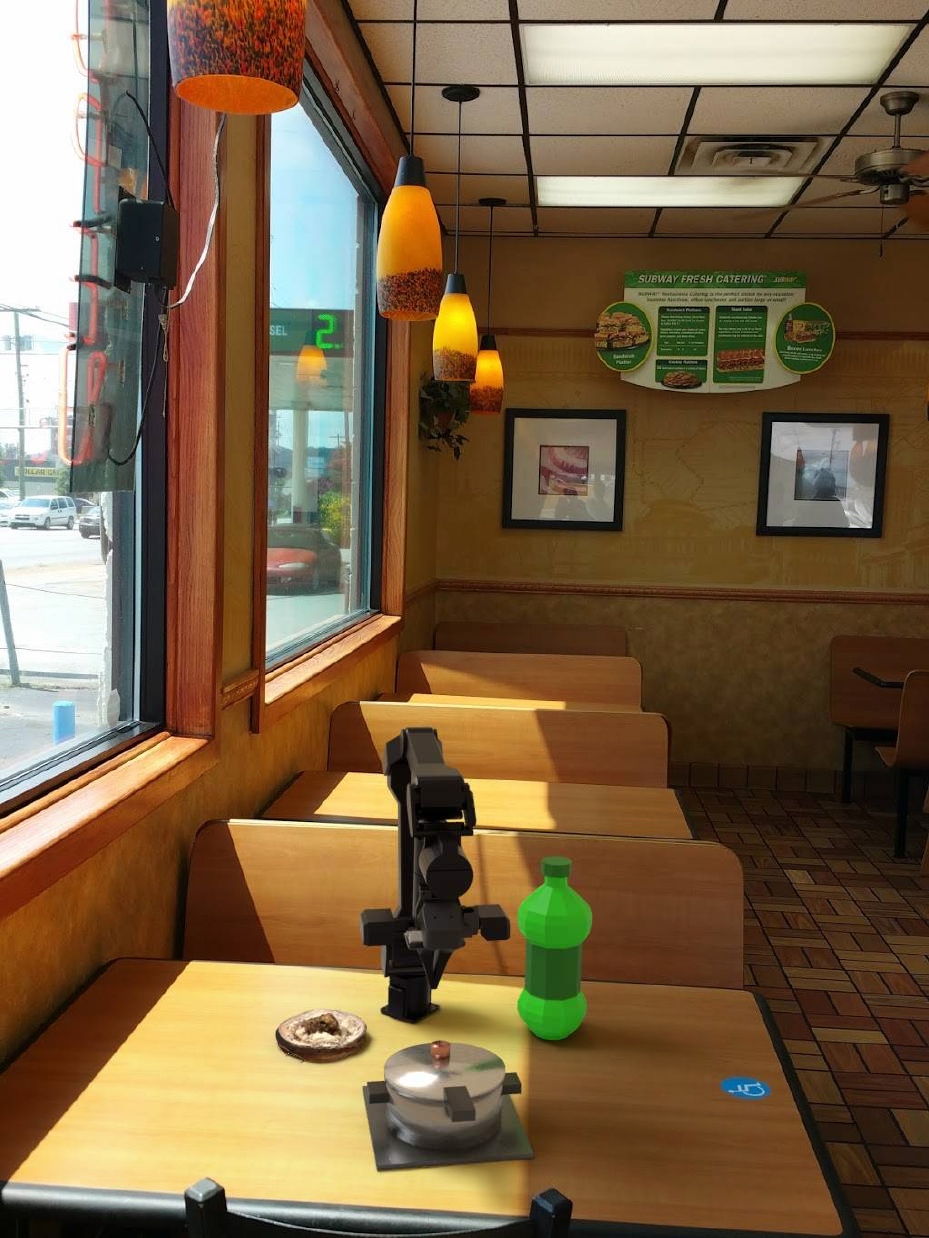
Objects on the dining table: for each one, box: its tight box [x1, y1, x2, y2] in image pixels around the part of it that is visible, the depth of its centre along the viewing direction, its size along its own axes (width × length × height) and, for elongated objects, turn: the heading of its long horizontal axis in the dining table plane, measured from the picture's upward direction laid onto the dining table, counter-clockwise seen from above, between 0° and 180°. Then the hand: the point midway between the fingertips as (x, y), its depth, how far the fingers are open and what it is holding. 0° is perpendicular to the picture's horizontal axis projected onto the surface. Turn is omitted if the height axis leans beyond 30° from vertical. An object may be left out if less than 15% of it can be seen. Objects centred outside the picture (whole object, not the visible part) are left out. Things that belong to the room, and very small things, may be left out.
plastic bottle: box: [516, 856, 593, 1041], centre depth 163 cm, size 10×10×25 cm
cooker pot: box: [362, 1071, 534, 1171], centre depth 139 cm, size 18×18×6 cm
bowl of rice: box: [274, 1008, 368, 1064], centre depth 159 cm, size 15×15×4 cm
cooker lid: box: [383, 1039, 506, 1122], centre depth 135 cm, size 20×15×2 cm
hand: (433, 988), depth 148 cm, fingers closed
